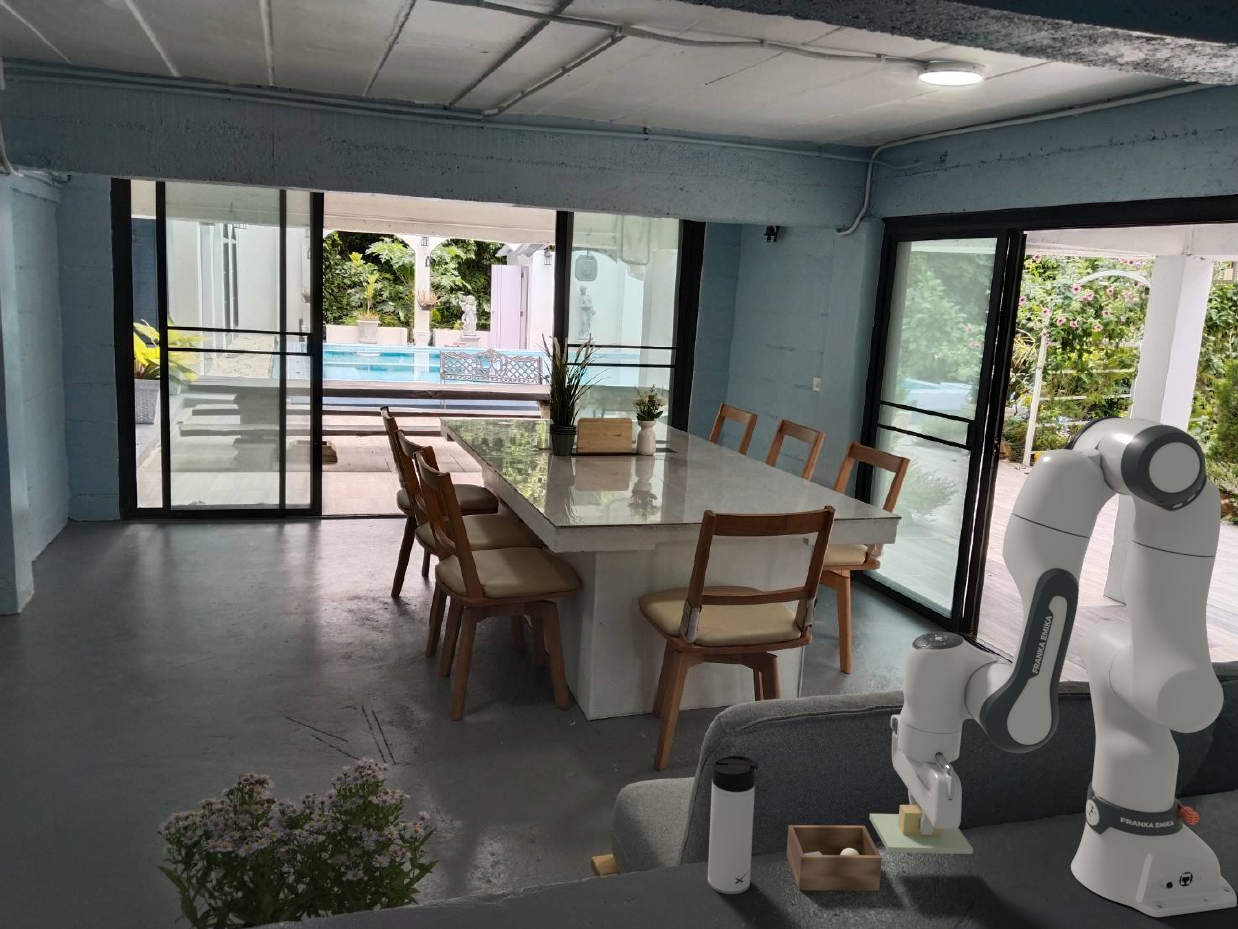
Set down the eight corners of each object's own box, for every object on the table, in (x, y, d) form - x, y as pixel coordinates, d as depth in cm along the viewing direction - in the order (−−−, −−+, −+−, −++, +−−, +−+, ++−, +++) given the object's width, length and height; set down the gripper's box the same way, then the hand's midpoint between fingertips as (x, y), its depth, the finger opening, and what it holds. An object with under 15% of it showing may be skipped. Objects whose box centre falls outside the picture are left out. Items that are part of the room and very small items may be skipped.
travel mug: (750, 902, 142) (756, 773, 139) (705, 895, 143) (710, 768, 140) (753, 878, 148) (759, 754, 145) (709, 872, 149) (715, 749, 146)
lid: (948, 824, 153) (951, 794, 152) (972, 858, 144) (975, 826, 143) (868, 823, 153) (871, 792, 152) (887, 857, 143) (890, 825, 142)
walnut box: (861, 861, 153) (864, 825, 152) (879, 895, 144) (881, 857, 143) (786, 860, 153) (788, 825, 152) (798, 894, 144) (801, 857, 143)
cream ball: (856, 863, 151) (858, 844, 151) (862, 875, 148) (864, 855, 148) (836, 863, 151) (837, 844, 151) (841, 874, 148) (843, 855, 147)
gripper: (977, 772, 135) (967, 864, 138) (926, 712, 156) (918, 793, 158) (932, 771, 135) (923, 863, 137) (887, 711, 155) (880, 792, 158)
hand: (920, 825), depth 148 cm, fingers closed on lid, 2 cm apart
